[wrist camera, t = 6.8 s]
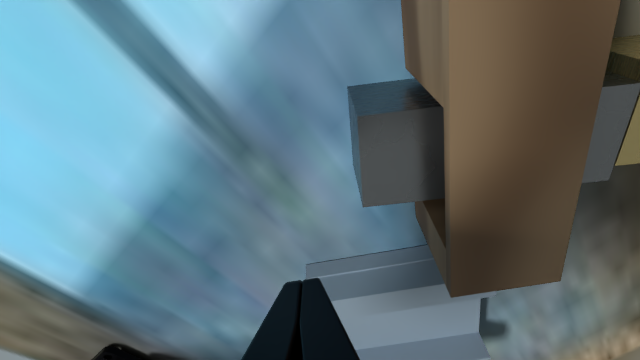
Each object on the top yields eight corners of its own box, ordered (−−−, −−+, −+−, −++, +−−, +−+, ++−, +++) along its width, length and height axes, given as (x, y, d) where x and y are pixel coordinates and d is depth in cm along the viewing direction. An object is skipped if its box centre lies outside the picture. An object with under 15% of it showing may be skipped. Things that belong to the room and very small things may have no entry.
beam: (415, 216, 18) (450, 297, 13) (396, -68, 12) (447, -88, 7) (497, 202, 18) (560, 281, 13) (520, -97, 12) (649, -135, 7)
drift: (352, 162, 17) (362, 207, 13) (346, 85, 15) (356, 116, 12) (551, 139, 16) (608, 180, 13) (570, 57, 14) (642, 82, 11)
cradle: (331, 353, 23) (334, 394, 21) (305, 264, 19) (305, 303, 17) (471, 333, 23) (489, 373, 20) (475, 237, 19) (497, 273, 16)
